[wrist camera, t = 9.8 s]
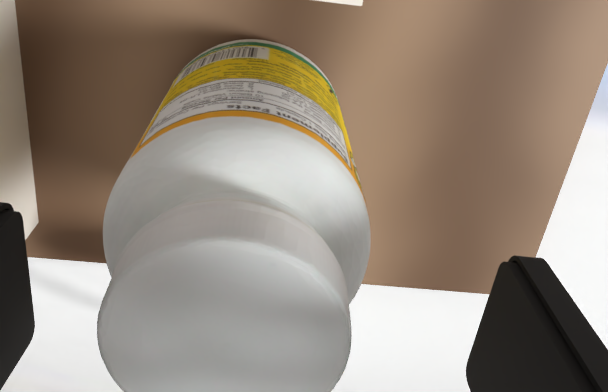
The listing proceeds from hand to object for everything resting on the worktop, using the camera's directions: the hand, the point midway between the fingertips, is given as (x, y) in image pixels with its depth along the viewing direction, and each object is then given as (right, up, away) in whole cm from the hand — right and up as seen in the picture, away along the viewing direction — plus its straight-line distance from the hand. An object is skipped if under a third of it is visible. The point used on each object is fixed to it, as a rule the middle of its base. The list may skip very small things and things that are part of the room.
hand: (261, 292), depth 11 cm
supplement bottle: (-1, +4, +7) cm, 9 cm away
